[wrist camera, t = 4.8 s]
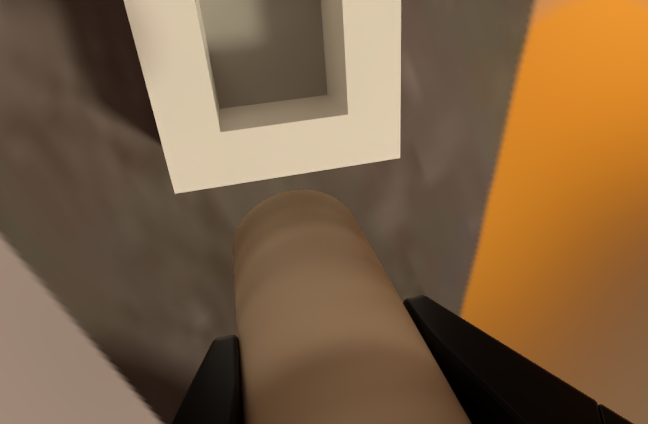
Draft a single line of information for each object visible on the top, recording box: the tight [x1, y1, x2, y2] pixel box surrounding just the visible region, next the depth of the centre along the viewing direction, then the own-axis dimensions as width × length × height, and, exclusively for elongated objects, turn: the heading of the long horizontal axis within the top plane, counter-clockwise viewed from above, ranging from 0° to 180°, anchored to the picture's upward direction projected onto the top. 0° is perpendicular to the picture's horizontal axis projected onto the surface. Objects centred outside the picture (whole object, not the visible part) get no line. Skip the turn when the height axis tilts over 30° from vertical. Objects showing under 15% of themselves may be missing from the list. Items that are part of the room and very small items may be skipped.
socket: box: [124, 0, 401, 194], centre depth 17 cm, size 9×9×4 cm
